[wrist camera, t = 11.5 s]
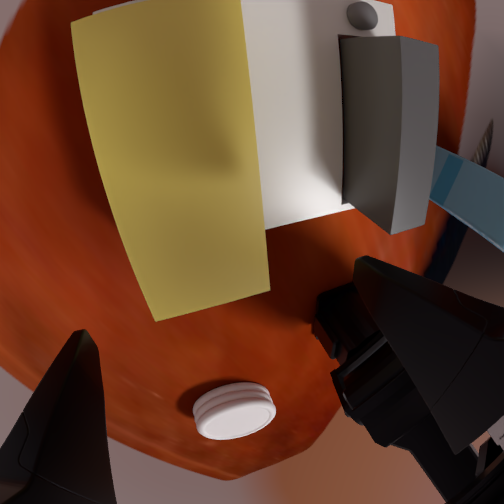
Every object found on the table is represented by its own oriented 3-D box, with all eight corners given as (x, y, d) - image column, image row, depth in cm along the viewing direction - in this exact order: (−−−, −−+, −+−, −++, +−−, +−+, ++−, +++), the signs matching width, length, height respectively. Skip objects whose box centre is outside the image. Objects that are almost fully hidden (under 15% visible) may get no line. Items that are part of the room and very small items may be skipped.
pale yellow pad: (217, 11, 11) (239, -11, 8) (248, 250, 19) (270, 290, 16) (91, 37, 10) (70, 22, 7) (152, 276, 18) (155, 321, 15)
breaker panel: (370, 8, 15) (398, 4, 12) (372, 187, 23) (396, 202, 21) (100, 21, 11) (90, 9, 9) (148, 239, 20) (149, 265, 17)
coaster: (276, 400, 38) (285, 420, 35) (212, 426, 37) (218, 446, 35) (253, 369, 32) (263, 394, 29) (176, 400, 31) (182, 425, 29)
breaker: (377, 43, 15) (438, 45, 10) (375, 191, 21) (424, 224, 17) (339, 39, 14) (399, 35, 10) (342, 198, 20) (390, 235, 16)
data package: (402, 182, 24) (507, 251, 14) (422, 139, 22) (534, 195, 13) (455, 217, 29) (528, 273, 20) (470, 184, 28) (548, 235, 18)
